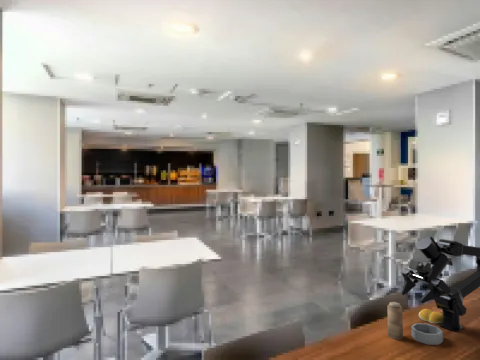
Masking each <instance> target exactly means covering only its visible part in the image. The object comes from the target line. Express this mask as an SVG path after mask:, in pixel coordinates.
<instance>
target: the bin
mask: <svg viewBox="0 0 480 360" xmlns="http://www.w3.org/2000/svg"><path fill="white" fill-rule="evenodd" d="M410 329H411V331H410V332H411V334H410V335H411V337H412V338H413V339H414V340H415V341H416V342H419V343H421V344H425V345H432V346H433V345H434V346H435V345H436V346H439V345H440V344H442V343H443V342H444V331H443V330H442V329H440V328H439V326H436V325H432V324H431V323H430V324H429V323H424V322H423V323H420V322H419V323H418V322H416V323H414V324H413V325H410Z"/></svg>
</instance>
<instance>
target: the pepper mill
mask: <svg viewBox="0 0 480 360" xmlns="http://www.w3.org/2000/svg"><path fill="white" fill-rule="evenodd" d="M386 306H387V311H386V312H387V336H388V338H390V339H393V340H397V341H398V340H401V341H402V340H403V339H404V327H403V326H404V325H403V324H404V323H403V306H401V304H400V303H399V302H396V301H389V304H387V305H386Z"/></svg>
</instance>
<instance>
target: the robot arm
mask: <svg viewBox="0 0 480 360" xmlns="http://www.w3.org/2000/svg"><path fill="white" fill-rule="evenodd" d="M416 248H417V249H418V250H419V252H420V253H422V255H423V256H424V258H426V259H428V260H427V261H423V262H420V261H416V260H414V259H411V260H410V262H409V265H408V268H402V270H401V271H400V274H401V276H402V278H403V281H404V282H403V286H402V291H401V295H402V296H405V295H406V294H408V293H409V292H410V291H411V290H412V289H414V288H415V287H416V286H417V284H418V283H419V282H420V283H423V284H425V285H427V289H426V291H425V293H424V294H423V295H422V297H421V299H420V303H421V304H425V303H426V302H429V301H431V300H434V303H435V305H436V308H437V309H439V310H442V311H441V312H442V315H443V323H440V324H439V325H438V327H440V328H443V329H447V330H449V331H453V332H456V333H457V332H460V331H462V329H464V325H461V317H463V316H465V315H466V314H467V308H466V307H465V305H464V299H465V297H467V296H469V295H470V294H471V293H473V292H474V291H475V290H477V289H478V288H480V246H472V245H466V244H463V243H461V242H459V241H455V240H450V239H445V238H444V239H443V238H440V239H439V240H438V241H435V239H434V238H433V236H429V235H427V236H426V237H424V238H421V239H419V240H418V241H417V243H416ZM463 255H465V256H472V257H476V258H475V264H476V271H474V272H473V273H471V274H470V275H468V276H467V277H466V278H464V279H463V280H461V281H460V282H458V283H457V284H456V285H454V286H453V287H452V286H449V285H448V284H447V283H446V282H445V280H443V279H440V278H441V277H442V278H443V276H444V275H443V274H442V272H443V271H444V269H445V268H446V267H447V265H448V266H454V265H453V261H452V258H450V257H448V256H451V257H460V256H463ZM413 270H414V271H413ZM439 277H440V278H439Z"/></svg>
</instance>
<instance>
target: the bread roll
mask: <svg viewBox="0 0 480 360" xmlns="http://www.w3.org/2000/svg"><path fill="white" fill-rule="evenodd" d="M418 317H419V319H420V320H422V321H423V322H427V323H428V322H429V323H430V324H435V325H437V324H439V325H440V324H442V323H443V313H441V312H439V311H433V310H431V309H428V308H423V309H421V311H419V313H418Z"/></svg>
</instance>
